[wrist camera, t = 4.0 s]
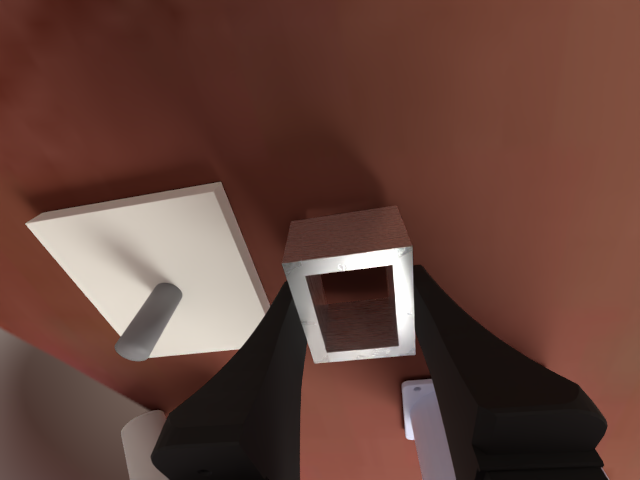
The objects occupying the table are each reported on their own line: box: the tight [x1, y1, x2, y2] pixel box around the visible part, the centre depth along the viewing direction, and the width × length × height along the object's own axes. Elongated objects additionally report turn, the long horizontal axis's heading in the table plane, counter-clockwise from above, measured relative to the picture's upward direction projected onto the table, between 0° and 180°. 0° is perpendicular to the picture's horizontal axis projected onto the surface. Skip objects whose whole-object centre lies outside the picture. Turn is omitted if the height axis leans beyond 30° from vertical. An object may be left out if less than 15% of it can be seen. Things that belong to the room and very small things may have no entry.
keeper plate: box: [25, 182, 270, 361], centre depth 15 cm, size 9×10×4 cm
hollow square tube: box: [282, 205, 416, 363], centre depth 14 cm, size 6×5×3 cm
